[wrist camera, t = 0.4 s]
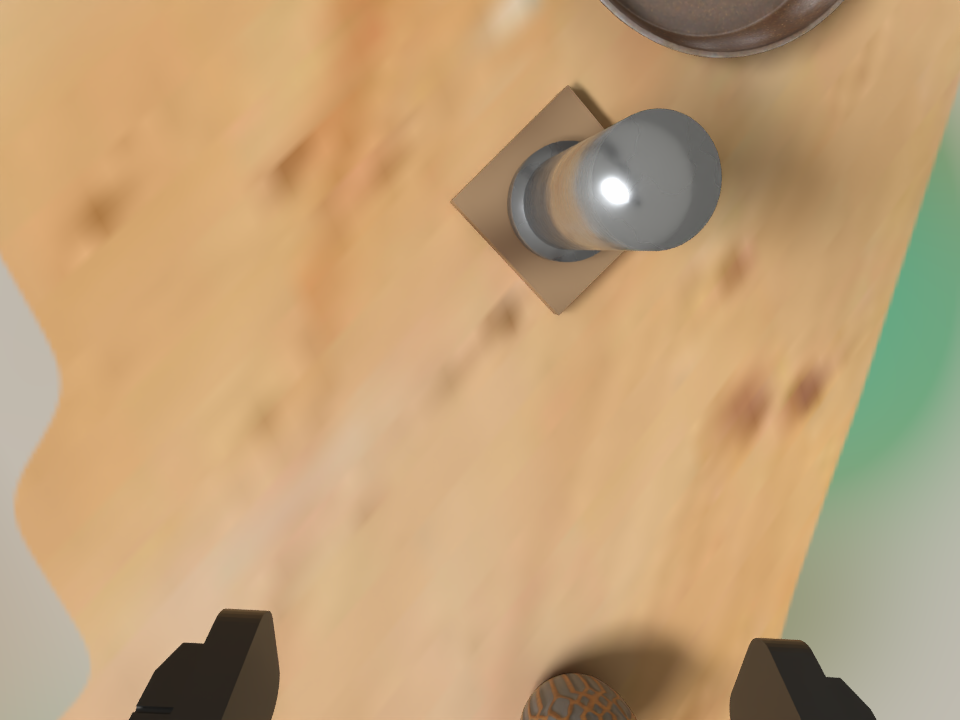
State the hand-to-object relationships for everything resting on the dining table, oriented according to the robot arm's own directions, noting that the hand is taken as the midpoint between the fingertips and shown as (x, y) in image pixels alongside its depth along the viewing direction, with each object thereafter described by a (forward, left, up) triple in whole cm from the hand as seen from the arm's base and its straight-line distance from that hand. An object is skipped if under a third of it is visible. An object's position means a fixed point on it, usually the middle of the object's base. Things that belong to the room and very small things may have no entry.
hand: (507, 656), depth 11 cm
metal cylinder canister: (-5, +10, -22) cm, 25 cm away
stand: (-5, +10, -23) cm, 26 cm away
